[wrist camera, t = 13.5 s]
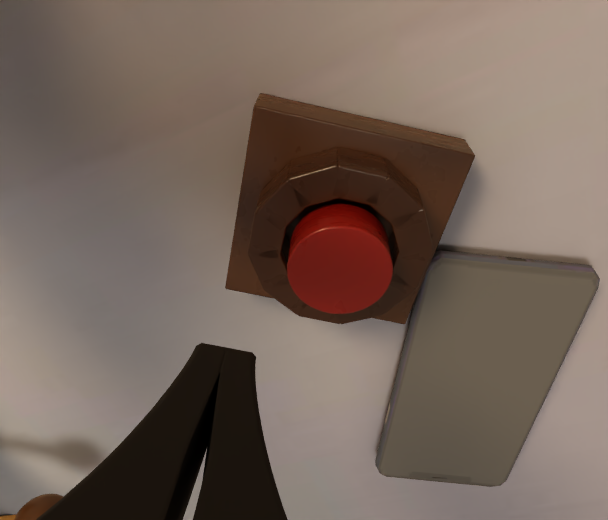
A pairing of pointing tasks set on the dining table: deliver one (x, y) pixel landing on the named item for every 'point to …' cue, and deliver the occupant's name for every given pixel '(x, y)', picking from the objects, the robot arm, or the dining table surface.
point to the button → (339, 259)
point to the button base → (341, 196)
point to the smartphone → (479, 364)
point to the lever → (34, 507)
